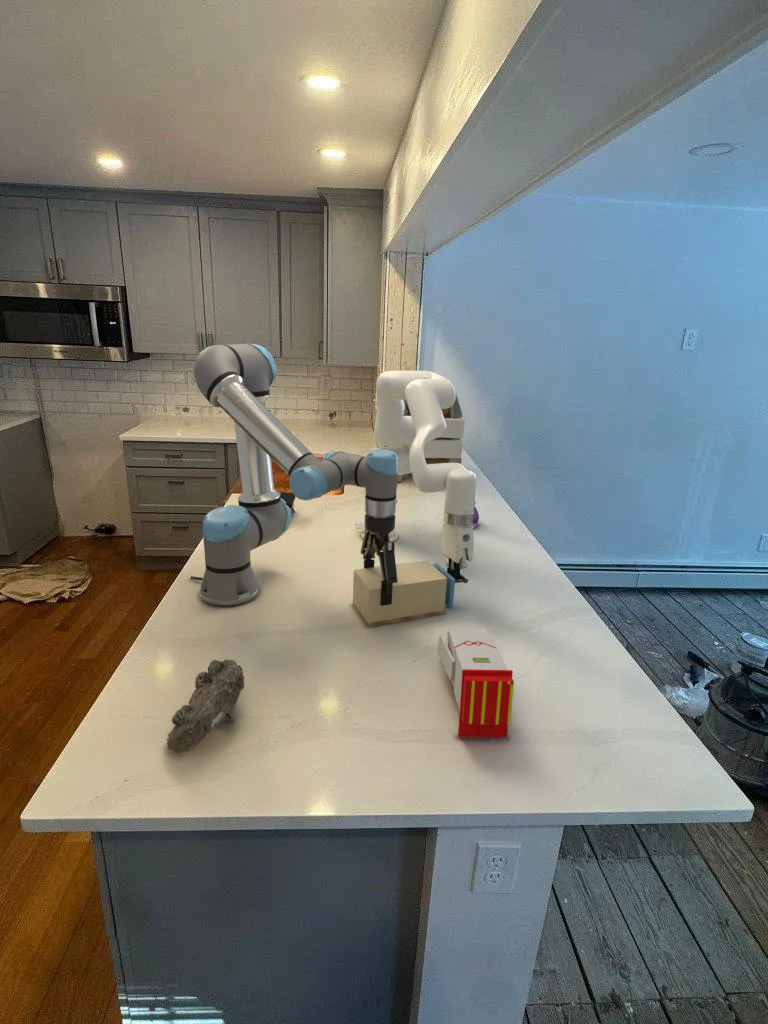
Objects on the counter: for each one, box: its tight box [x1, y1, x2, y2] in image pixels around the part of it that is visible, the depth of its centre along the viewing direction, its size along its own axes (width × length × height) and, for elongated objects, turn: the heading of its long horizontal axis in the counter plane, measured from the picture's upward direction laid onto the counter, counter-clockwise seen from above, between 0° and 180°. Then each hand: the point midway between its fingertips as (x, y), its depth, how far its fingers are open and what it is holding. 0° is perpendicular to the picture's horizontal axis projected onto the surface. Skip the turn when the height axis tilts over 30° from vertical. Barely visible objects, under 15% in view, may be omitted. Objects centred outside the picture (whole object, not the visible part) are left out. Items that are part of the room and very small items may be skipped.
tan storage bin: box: [352, 559, 447, 628], centre depth 148 cm, size 21×12×10 cm, turn 112°
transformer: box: [383, 392, 465, 483], centre depth 268 cm, size 34×33×41 cm
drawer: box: [432, 562, 469, 609], centre depth 150 cm, size 25×10×8 cm, turn 112°
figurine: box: [472, 500, 480, 529], centre depth 208 cm, size 9×10×15 cm
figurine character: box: [279, 492, 297, 518], centre depth 210 cm, size 7×8×15 cm
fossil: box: [166, 658, 245, 754], centre depth 106 cm, size 22×10×15 cm
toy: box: [437, 628, 515, 738], centre depth 117 cm, size 12×13×30 cm
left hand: (376, 593), depth 146 cm, fingers closed on tan storage bin, 12 cm apart
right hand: (452, 581), depth 153 cm, fingers closed
